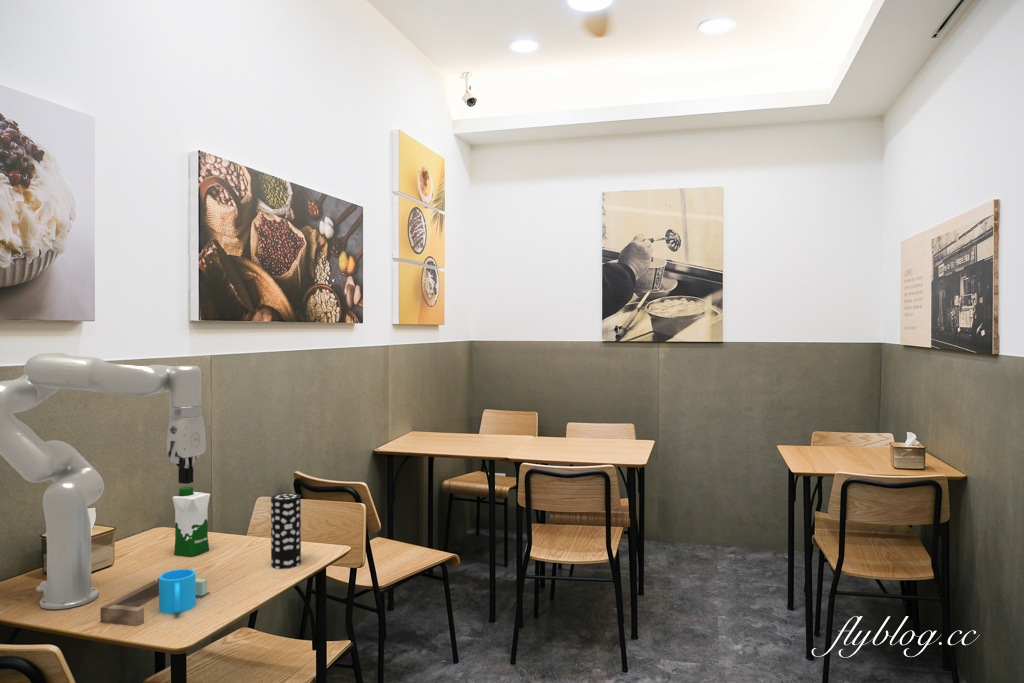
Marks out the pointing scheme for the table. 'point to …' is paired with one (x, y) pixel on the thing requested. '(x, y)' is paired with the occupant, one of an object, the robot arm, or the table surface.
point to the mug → (176, 591)
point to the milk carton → (191, 522)
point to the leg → (200, 586)
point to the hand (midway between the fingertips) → (185, 482)
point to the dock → (131, 605)
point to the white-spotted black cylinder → (285, 530)
